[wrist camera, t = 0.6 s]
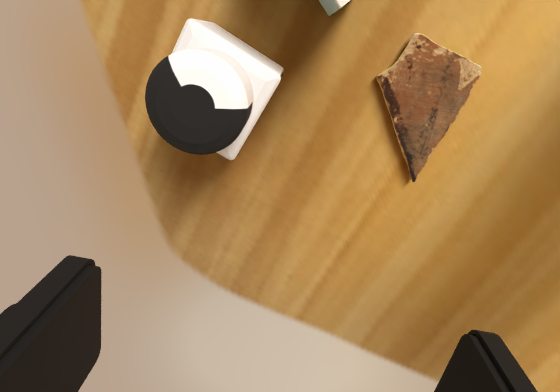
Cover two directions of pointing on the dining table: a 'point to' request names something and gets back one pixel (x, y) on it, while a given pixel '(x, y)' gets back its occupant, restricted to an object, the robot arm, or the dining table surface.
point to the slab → (332, 5)
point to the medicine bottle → (210, 90)
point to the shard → (425, 96)
